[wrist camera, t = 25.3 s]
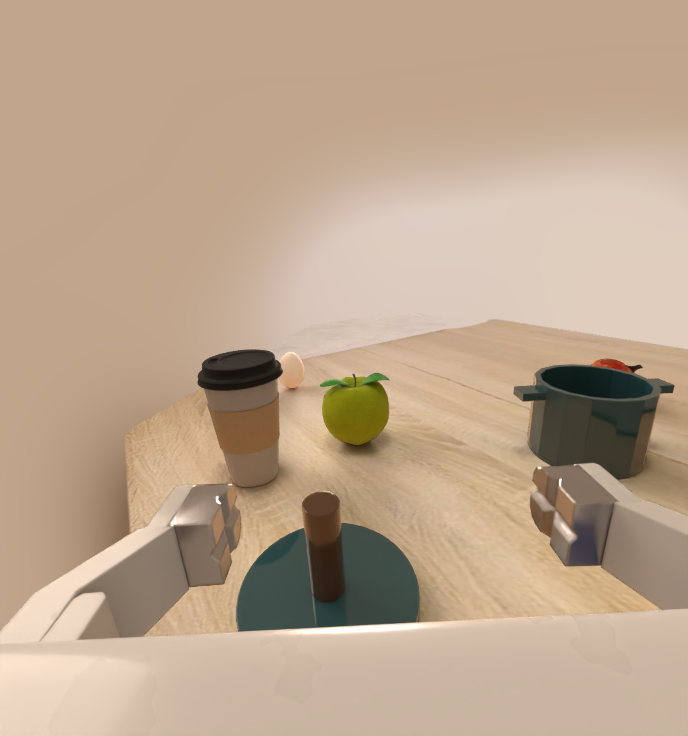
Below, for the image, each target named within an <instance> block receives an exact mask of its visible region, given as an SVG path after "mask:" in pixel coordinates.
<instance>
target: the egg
mask: <svg viewBox="0 0 688 736" xmlns="http://www.w3.org/2000/svg"><path fill="white" fill-rule="evenodd" d="M279 362H280V363H281V368H282V369H283V373H282V375H281V376H280V377H279V379H280V381H281V382H282V383H283V384H284V385H285V386H286V387H288V388H295V387H297V386H299V385H300V384H301V382H302V381H303V379H304V374H305V371H304V365H303V363H302V361H301V359H300V358H299V357H298V356H297V355H296V354H295V353H292V352H288V353H286V354H284V355H283V356H282V358H281V359H280V361H279Z"/></svg>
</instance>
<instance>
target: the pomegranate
mask: <svg viewBox="0 0 688 736" xmlns="http://www.w3.org/2000/svg"><path fill="white" fill-rule="evenodd" d="M592 366H600V367H606V368H613V369H618V370H622V371H626V372H630V373H634V372H635V371H636V370H637V369H640V368H643V367H642V366H641V365H636V366H627V365H625V364H624V363H622V362H620V361H617V360H613V359H600V360H597V361H595V362H594V363H593V364H592Z"/></svg>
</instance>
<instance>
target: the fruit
mask: <svg viewBox="0 0 688 736" xmlns="http://www.w3.org/2000/svg"><path fill="white" fill-rule="evenodd" d="M379 380H389V379H388V378H387V377H386V376H384V375H382V374H379V373H374V374H371V375H369V376H368V377H367V378H366V377H355V374H353V377H345V378H343V379H341V380H338V379H332V380H327V381H325V382H323V383H322V384H321V385H320V386H321V387H326V386H332V385H333V386H332V387H330V388H329V389H328V390H327V391H326V393H325V395H324V399H323V406H322V413H323V419H324V422H325V425H326V427H327V428H328V430H329V431H330V433H331V434H332V435H333V436H334V437H335V438H337V439H338V440H340V441H342V442H345V443H350V444H353V445H361V444H364V443H366V442H368V441H370V440H372V439H374V438H375V437H376V436H377V435H378V434H379V433H380V432H381V431H382V430H383V429H384V427H385V426H386V424H387V421H388V417H389V403H388V397H387V394H386V391H385V389H384V388H383V386H382V385H381V384H380V383H379V382H378V381H379Z"/></svg>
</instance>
